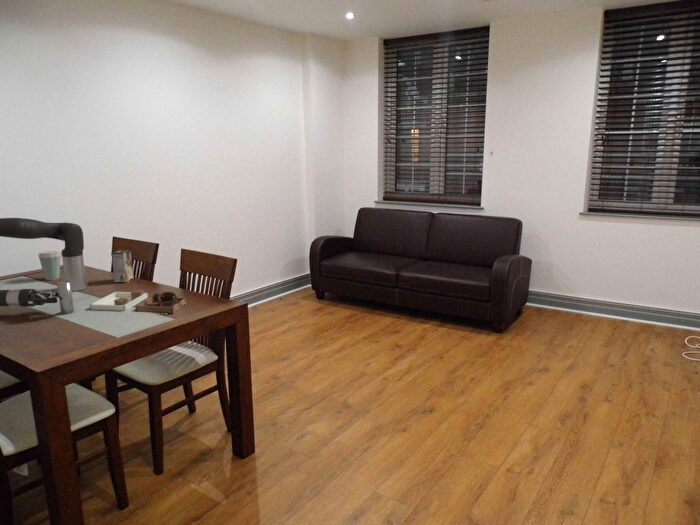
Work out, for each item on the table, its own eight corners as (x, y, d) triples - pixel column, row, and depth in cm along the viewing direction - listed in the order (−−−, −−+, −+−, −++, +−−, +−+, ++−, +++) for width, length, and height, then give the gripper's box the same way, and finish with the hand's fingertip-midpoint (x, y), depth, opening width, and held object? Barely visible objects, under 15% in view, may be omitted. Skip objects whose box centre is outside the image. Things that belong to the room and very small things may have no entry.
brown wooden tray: (152, 302, 233) (152, 296, 232) (187, 303, 231) (187, 297, 230) (136, 312, 218) (135, 306, 218) (173, 314, 217) (172, 307, 216)
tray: (115, 297, 239) (115, 291, 239) (148, 299, 238) (147, 292, 237) (90, 311, 220) (89, 304, 219) (125, 312, 218) (124, 305, 218)
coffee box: (122, 278, 274) (119, 249, 271) (133, 278, 274) (131, 249, 271) (114, 283, 265) (111, 253, 262) (126, 283, 265) (123, 253, 262)
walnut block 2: (134, 298, 236) (133, 289, 235) (143, 298, 236) (142, 289, 236) (131, 300, 232) (130, 292, 231) (140, 300, 233) (139, 292, 232)
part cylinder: (66, 312, 219) (62, 280, 215) (76, 312, 218) (73, 281, 215) (58, 315, 214) (54, 283, 211) (69, 316, 213) (65, 284, 210)
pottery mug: (183, 305, 231) (181, 292, 225) (172, 319, 224) (170, 307, 218) (159, 297, 232) (157, 284, 227) (147, 311, 225) (145, 298, 220)
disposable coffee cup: (47, 276, 278) (43, 249, 274) (67, 276, 279) (64, 249, 275) (37, 281, 267) (33, 253, 264) (59, 281, 268) (55, 253, 265)
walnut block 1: (122, 306, 224) (121, 297, 223) (129, 307, 223) (128, 298, 222) (115, 308, 221) (114, 300, 220) (122, 309, 219) (121, 301, 218)
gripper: (11, 294, 205) (52, 293, 206) (30, 284, 219) (69, 284, 220) (13, 311, 207) (54, 311, 208) (32, 301, 221) (71, 300, 222)
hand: (62, 297), depth 214 cm, fingers open, 8 cm apart
